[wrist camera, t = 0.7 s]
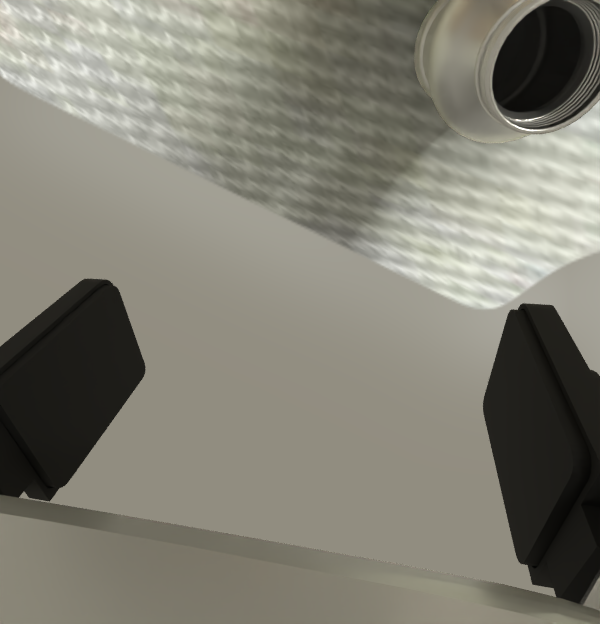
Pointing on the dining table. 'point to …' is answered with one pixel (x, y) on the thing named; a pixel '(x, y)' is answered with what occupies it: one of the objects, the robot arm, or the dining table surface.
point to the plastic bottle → (510, 65)
